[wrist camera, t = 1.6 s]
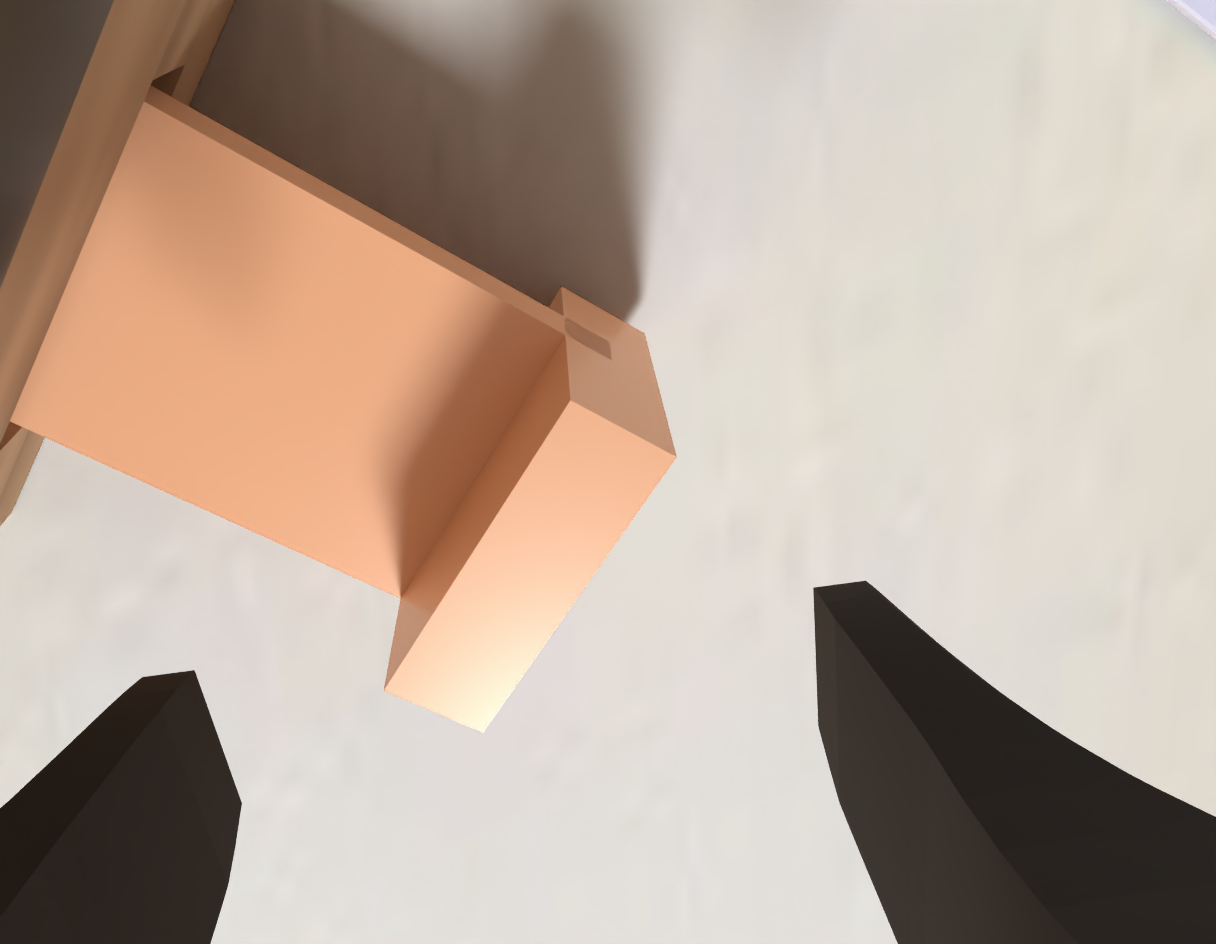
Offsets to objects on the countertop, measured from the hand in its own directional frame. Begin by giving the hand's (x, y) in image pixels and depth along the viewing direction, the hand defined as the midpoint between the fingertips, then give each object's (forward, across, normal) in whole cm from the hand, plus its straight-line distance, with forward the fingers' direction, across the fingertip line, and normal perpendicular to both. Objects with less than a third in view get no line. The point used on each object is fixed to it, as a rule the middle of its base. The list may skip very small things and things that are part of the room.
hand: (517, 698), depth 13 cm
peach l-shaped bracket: (+7, +5, -4) cm, 9 cm away
